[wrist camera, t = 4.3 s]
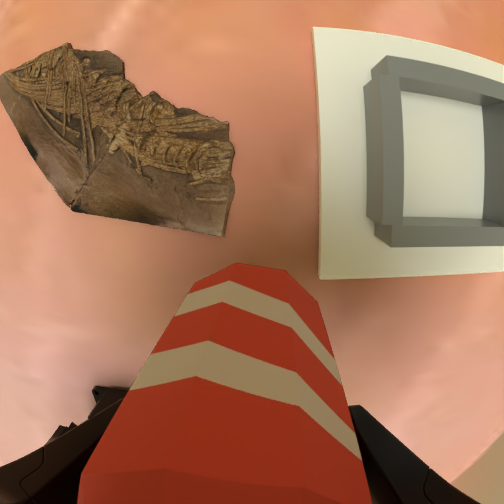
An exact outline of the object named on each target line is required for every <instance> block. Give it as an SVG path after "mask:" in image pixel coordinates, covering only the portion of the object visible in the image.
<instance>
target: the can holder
mask: <svg viewBox="0 0 504 504" xmlns="http://www.w3.org/2000/svg"><path fill="white" fill-rule="evenodd" d="M311 35H312V46H313V58H314V71H315V87H316V104H317V126H318V156H319V257H318V276H319V278H320V280H329V279H363V278H390V277H414V276H435V275H454V274H471V273H487V272H502V271H504V65H502V64H499V63H496V62H494V61H491V60H488V59H485V58H482V57H479V56H476V55H473V54H470V53H467V52H463V51H460V50H456V49H453V48H449V47H445V46H441V45H437V44H433V43H429V42H425V41H420V40H415V39H411V38H405V37H400V36H394V35H388V34H382V33H375V32H367V31H359V30H350V29H339V28H324V27H313V29H312V32H311Z"/></svg>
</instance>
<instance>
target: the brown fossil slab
mask: <svg viewBox="0 0 504 504" xmlns="http://www.w3.org/2000/svg"><path fill="white" fill-rule="evenodd" d="M124 77H125V74H124V68H123V62H122V61H121V60H120V59H119V58H118V57H117V56H116V55H114V54H112V53H110V52H109V51H108V50H105V51H98V52H97V51H86V50H84V51H80V50H78V49H72V47H71V44H70V43H65V44H63V45H62V46H60V47H58V48H56V49H52V50H51V51H48V52H45V53H43V54H41V55H39V56H38V57H37V58H35V59H33V60H31V61H28V62H25V63H24V64H22V65H21V66H19V67H17V68H16V69H11V70H8V71H6V72H4V73H3V74H2V75H0V100H1V102H2V104H3V105H4V107H5V109H6V111H7V113H8V114H9V116H10V118H11V120H12V122H13V123H14V125H15V127H16V129H17V131H18V133H19V135H20V137H21V139H22V141H23V142H24V144H25V146H26V147H27V149H28V151H29V152H30V154H31V156H32V157H33V159H34V160H35V162H36V163H37V165H38V166H39V168H40V169H41V171H42V172H43V173H44V175H45V176H46V178H47V180H48V181H49V182H50V183H51V184H52V185H53V186H54V188H55V191H56V192H57V193H58V195H59V196H60V198H61V199H62V200H63V202H64V203H65V204H66V205H67V206H69V205H70V204H71V202H72V201H73V200H75V202H74V204H73V205H72V204H71V205H72V206H71V210H72V211H73V212H79V213H82V212H83V213H86V214H91V215H98V216H104V217H109V218H119V219H123V220H128V221H134V222H140V223H147V224H151V225H159V226H163V227H170V228H171V227H172V228H173V229H178V228H180V229H182V230H190V231H192V232H198V233H204V234H208V235H215V236H222V237H225V230H226V225H227V219H228V215H229V210H230V206H231V203H232V201H233V198H234V194H235V186H234V181H233V178H232V177H231V166H232V160H233V157H234V154H235V151H234V148H233V146H232V144H231V142H230V141H229V122H228V121H225V122H219V121H218V120H216V119H215V118H214V117H210V118H209V117H208V116H203V115H201V114H199V113H198V112H196V111H194V110H191V109H189V108H188V109H187V108H180V109H178V108H175V107H174V105H170V104H169V102H168V101H166V100H164V99H162V98H161V97H160V96H159V95H158V94H157V93H156V92H154V91H152V92H150V94H149V95H147V96H145V97H142V95H141V94H140V93H139V92H138V91H137V89H136V88H135V87H134V86H133V84H131V83H130V82H128V80H126V79H124ZM69 207H70V206H69Z"/></svg>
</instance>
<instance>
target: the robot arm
mask: <svg viewBox="0 0 504 504" xmlns="http://www.w3.org/2000/svg"><path fill="white" fill-rule="evenodd" d="M92 393H93V395H94V398H95V401H96V403H97V404H96V406H95V407H94V409H93V410H92V412H91V413H90V415H89V416H88V420H87V421H85V422H83V423H82V424H80V425H78V426H77V425H76V424H74V423H73V422H72V423H71V424H70V426H69V427H67V426H66V427H64V426H61V425H60V426H59V427H58V429H57V430H56V431H55V433H54V434H53V435H52V437H51V438H50V439H49V441H48V442H47V443H46V444H45V445H44V446H43V447H41V448H39V449H37V450H36V451H34V452H32V453H30V454H28V455H26V456H24V457H22V458H20V459H18V460H16V461H13V462H11V463H9V464H6V465H4V466H1V467H0V504H77V501H78V493H79V485H80V478H81V473H82V471H83V469H84V468H85V466H86V464H87V462H88V460H89V459H90V457H91V455H92V453H93V451H94V450H95V448H96V446H97V444H98V443H99V441H100V439H101V437H102V436H103V434H104V432H105V430H106V429H107V427H108V425H109V423H110V422H111V420H112V418H113V417H114V415H115V413H116V411H117V410H118V408H119V406H120V405H121V403H122V401H123V399H124V398H125V396H126V394H127V393H128V392H127V391H121V390H114V389H109V388H103V387H97V386H95V387H94V388H93V390H92ZM348 408H349V411H350V415H351V419H352V423H353V426H354V430H355V434H356V438H357V442H358V446H359V450H360V454H361V458H362V462H363V466H364V470H365V474H366V479H367V483H368V487H369V491H370V496H371V500H372V504H480V503H479V502H477V501H475V500H474V499H472V498H470V497H469V496H467V495H466V494H464V493H462V492H461V491H460V490H458V489H457V488H455V487H454V486H452V485H451V484H449V483H448V482H447V481H446V480H444V479H443V478H442V477H441V476H439V475H438V474H437V473H436V472H435V471H434V470H432V469H429V466H428V465H427V464H425V463H424V462H423V461H422V460H421V459H420V458H419V457H417V456H416V455H415V454H414V453H413V452H412V451H411V450H410V449H408V448H407V447H406V446H405V445H404V444H403V443H402V442H401V441H399V440H398V439H397V438H396V437H395V436H394V435H393V434H392V433H391V432H389V431H388V430H387V429H386V428H385V427H384V426H383V425H382V424H381V423H380V422H378V421H377V420H376V419H375V418H374V417H373V416H372V415H371V414H370V413H369V412H368V411H366V410H365V409H364V408H363V407H362V406H361V405H352V406H348Z"/></svg>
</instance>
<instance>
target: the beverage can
mask: <svg viewBox="0 0 504 504" xmlns="http://www.w3.org/2000/svg"><path fill="white" fill-rule="evenodd" d="M77 504H372V500H371V496H370V491H369V487H368V483H367V479H366V474H365V470H364V466H363V462H362V458H361V454H360V450H359V446H358V442H357V438H356V434H355V430H354V426H353V423H352V419H351V415H350V411H349V408H348V404H347V400H346V397H345V393H344V390H343V386H342V382H341V379H340V375H339V372H338V368H337V365H336V362H335V358H334V355H333V351H332V348H331V345H330V341H329V338H328V335H327V331H326V328H325V325H324V322H323V318H322V315H321V312H320V309H319V305H318V302H317V301H316V300H315V299H314V298H313V297H312V296H311V295H310V294H309V293H308V292H307V291H306V290H305V289H304V288H303V287H301V286H300V285H299V284H298V283H297V282H296V281H295V280H294V279H293V278H292V277H291V276H290V275H289V274H288V273H287V272H286V271H285V270H279V269H273V268H266V267H260V266H253V265H247V264H241V263H235V264H233V265H231V266H229V267H227V268H225V269H223V270H220V271H218V272H216V273H214V274H212V275H210V276H208V277H206V278H204V279H202V280H200V281H198V282H196V283H195V284H194V285H193V287H192V288H191V290H190V292H189V293H188V295H187V296H186V298H185V299H184V301H183V303H182V304H181V306H180V307H179V309H178V311H177V312H176V314H175V315H174V317H173V319H172V320H171V322H170V323H169V325H168V327H167V328H166V330H165V332H164V333H163V335H162V336H161V338H160V340H159V341H158V343H157V345H156V346H155V348H154V349H153V351H152V353H151V354H150V356H149V358H148V359H147V361H146V363H145V364H144V366H143V368H142V369H141V371H140V373H139V374H138V376H137V378H136V379H135V381H134V383H133V384H132V386H131V388H130V389H129V391H128V393H127V394H126V396H125V398H124V399H123V401H122V403H121V405H120V406H119V408H118V410H117V411H116V413H115V415H114V417H113V418H112V420H111V422H110V423H109V425H108V427H107V429H106V430H105V432H104V434H103V436H102V437H101V439H100V441H99V443H98V444H97V446H96V448H95V450H94V451H93V453H92V455H91V457H90V459H89V460H88V462H87V464H86V466H85V468H84V469H83V471H82V473H81V478H80V485H79V493H78V501H77Z"/></svg>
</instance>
